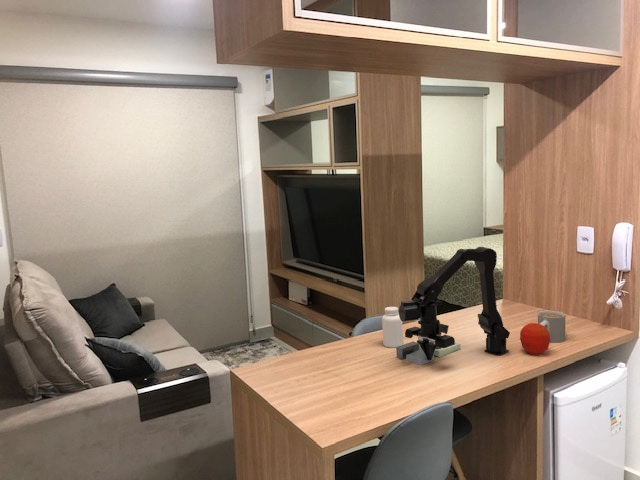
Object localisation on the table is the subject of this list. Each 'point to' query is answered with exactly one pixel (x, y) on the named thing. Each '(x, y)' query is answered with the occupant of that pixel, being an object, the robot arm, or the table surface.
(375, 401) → the table surface
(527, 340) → the apple
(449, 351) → the tray
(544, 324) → the coffee mug
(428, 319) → the robot arm
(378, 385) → the table surface
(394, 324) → the pill bottle
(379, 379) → the table surface
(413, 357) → the board
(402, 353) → the dark gray block
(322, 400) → the table surface
